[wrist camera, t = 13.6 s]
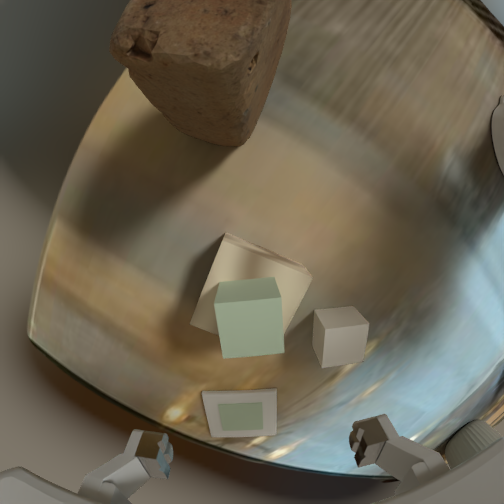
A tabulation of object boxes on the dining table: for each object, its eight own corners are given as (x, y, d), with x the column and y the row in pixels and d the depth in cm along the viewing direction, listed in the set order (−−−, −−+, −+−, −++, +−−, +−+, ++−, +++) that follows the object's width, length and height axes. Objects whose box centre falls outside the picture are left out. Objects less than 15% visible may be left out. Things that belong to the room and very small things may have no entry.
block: (241, 159, 27) (238, 89, 8) (176, 135, 26) (70, 55, 7) (281, 75, 25) (329, -56, 6) (218, 54, 24) (193, -81, 5)
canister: (473, 406, 39) (516, 457, 18) (492, 411, 41) (527, 451, 21) (423, 457, 42) (454, 511, 21) (451, 455, 44) (478, 498, 24)
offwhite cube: (353, 305, 31) (369, 323, 26) (349, 340, 32) (363, 361, 27) (313, 309, 31) (325, 329, 26) (311, 345, 32) (321, 368, 27)
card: (276, 388, 33) (277, 391, 32) (276, 432, 35) (276, 435, 35) (202, 390, 33) (201, 394, 32) (212, 434, 35) (211, 438, 34)
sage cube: (274, 276, 25) (281, 297, 20) (277, 324, 26) (284, 352, 21) (219, 281, 25) (213, 303, 20) (226, 329, 26) (223, 358, 21)
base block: (302, 263, 30) (313, 277, 25) (268, 331, 32) (273, 354, 27) (226, 231, 29) (222, 240, 24) (197, 304, 31) (189, 324, 26)
